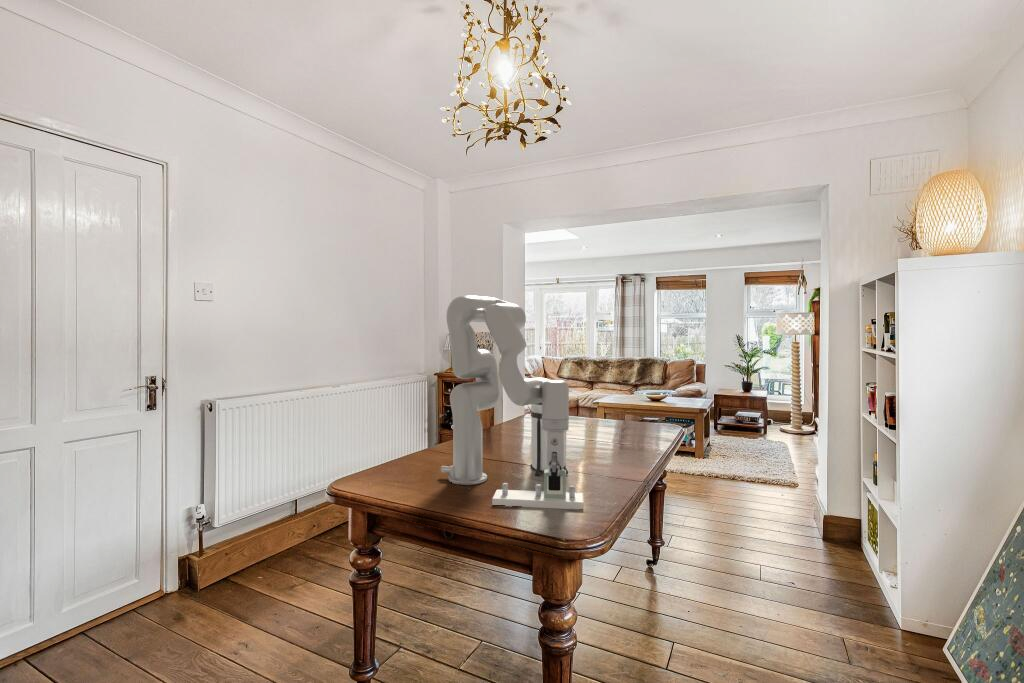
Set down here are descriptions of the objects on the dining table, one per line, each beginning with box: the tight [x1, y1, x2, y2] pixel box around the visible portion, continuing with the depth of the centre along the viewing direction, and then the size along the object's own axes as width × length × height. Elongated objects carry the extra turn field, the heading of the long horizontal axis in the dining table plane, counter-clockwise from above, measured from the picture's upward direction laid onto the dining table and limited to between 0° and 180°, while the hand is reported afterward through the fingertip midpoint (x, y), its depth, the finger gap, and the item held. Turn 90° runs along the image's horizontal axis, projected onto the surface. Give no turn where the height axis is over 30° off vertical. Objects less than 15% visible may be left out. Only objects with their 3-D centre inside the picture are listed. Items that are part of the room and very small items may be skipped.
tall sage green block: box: [543, 469, 567, 499], centre depth 141 cm, size 6×4×7 cm, turn 83°
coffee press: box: [529, 403, 569, 477], centre depth 174 cm, size 17×16×30 cm
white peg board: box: [491, 482, 584, 510], centre depth 141 cm, size 25×8×5 cm, turn 83°
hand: (555, 484), depth 141 cm, fingers open, 9 cm apart
